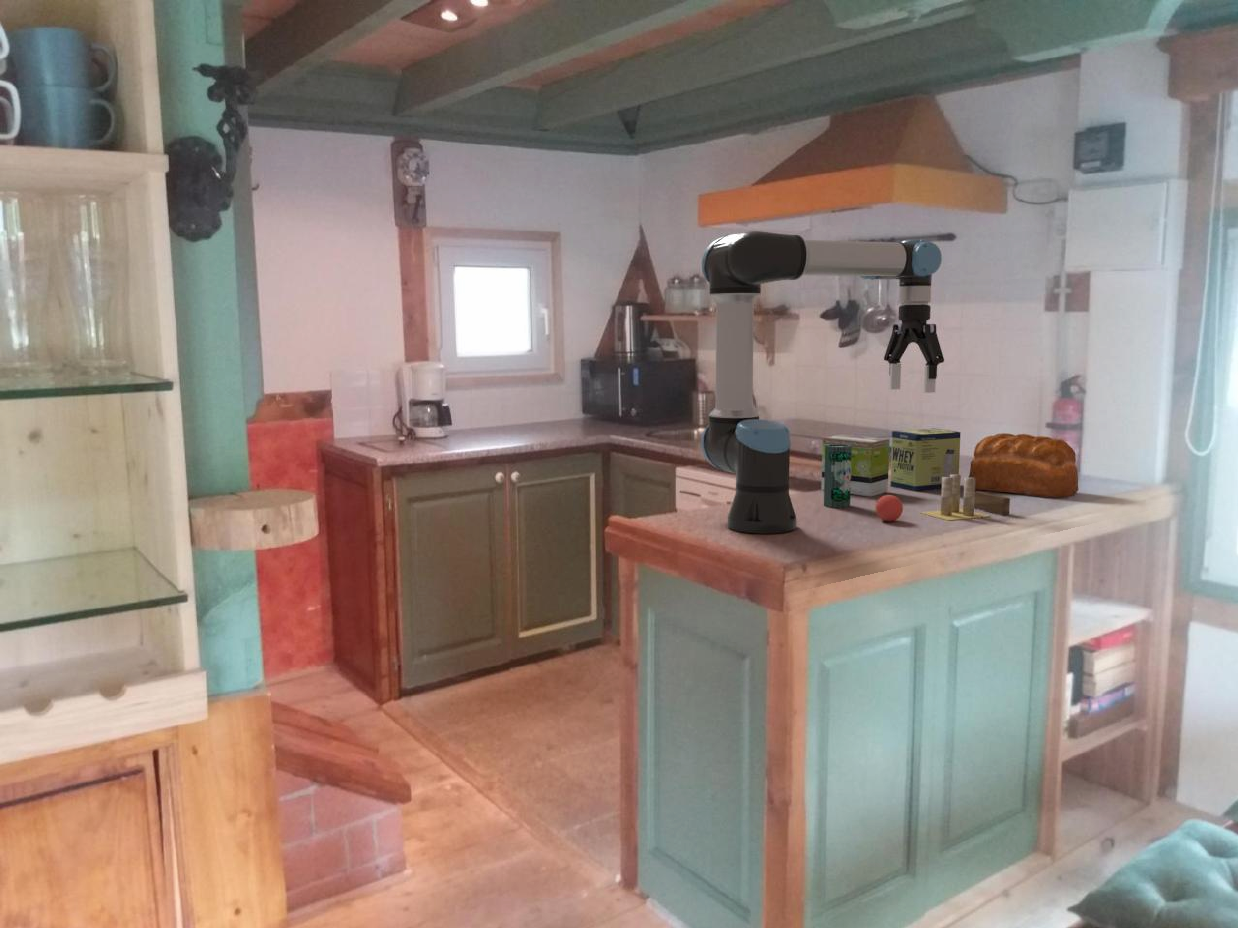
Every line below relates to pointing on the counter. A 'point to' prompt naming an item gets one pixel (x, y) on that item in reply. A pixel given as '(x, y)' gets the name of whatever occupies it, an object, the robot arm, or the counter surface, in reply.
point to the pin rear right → (969, 496)
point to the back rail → (992, 503)
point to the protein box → (924, 458)
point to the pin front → (946, 496)
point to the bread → (1025, 466)
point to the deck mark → (953, 515)
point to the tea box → (864, 463)
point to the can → (837, 475)
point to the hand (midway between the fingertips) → (911, 391)
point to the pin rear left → (956, 492)
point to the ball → (889, 508)
